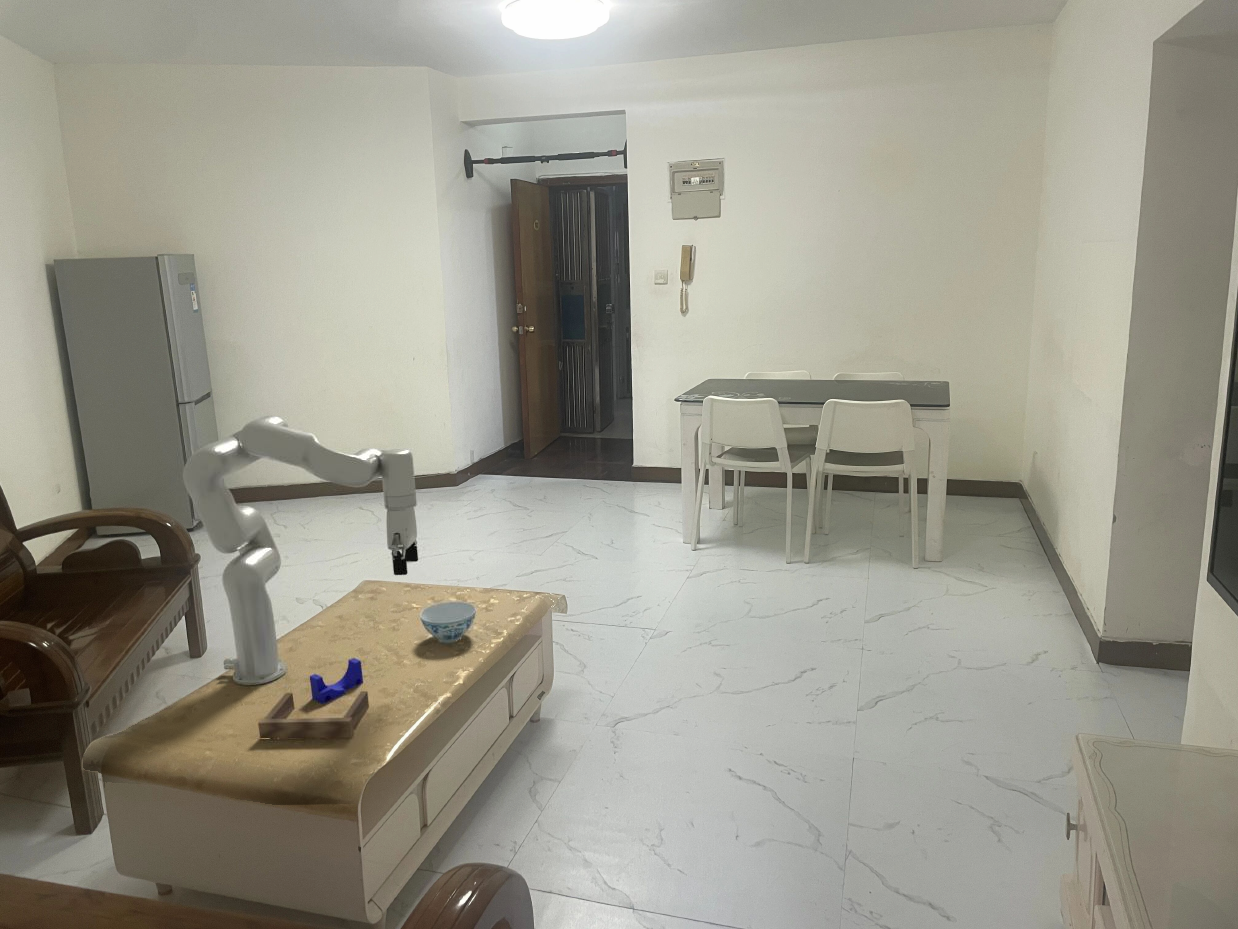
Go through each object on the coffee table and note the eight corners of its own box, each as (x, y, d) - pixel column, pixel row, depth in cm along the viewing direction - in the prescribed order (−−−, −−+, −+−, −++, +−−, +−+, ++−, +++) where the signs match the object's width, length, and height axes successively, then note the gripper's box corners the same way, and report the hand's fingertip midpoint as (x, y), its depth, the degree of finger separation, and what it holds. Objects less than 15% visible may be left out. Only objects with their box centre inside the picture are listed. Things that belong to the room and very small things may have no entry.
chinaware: (472, 649, 225) (470, 621, 223) (416, 650, 225) (413, 623, 224) (482, 626, 240) (480, 600, 238) (429, 627, 240) (427, 602, 238)
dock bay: (260, 739, 183) (258, 722, 182) (285, 708, 196) (283, 692, 196) (351, 738, 183) (349, 721, 182) (371, 707, 196) (369, 691, 195)
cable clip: (323, 704, 198) (320, 681, 197) (312, 699, 201) (309, 676, 200) (366, 685, 207) (364, 662, 206) (356, 680, 210) (353, 657, 209)
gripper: (395, 492, 213) (401, 556, 217) (373, 510, 196) (380, 580, 200) (424, 491, 213) (430, 556, 216) (405, 509, 196) (412, 579, 200)
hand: (406, 567), depth 208 cm, fingers open, 9 cm apart
